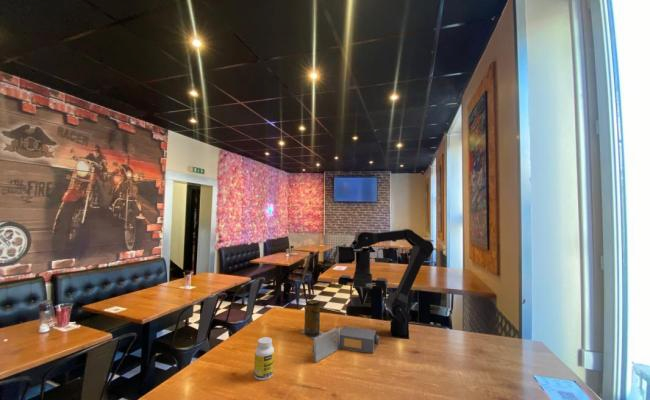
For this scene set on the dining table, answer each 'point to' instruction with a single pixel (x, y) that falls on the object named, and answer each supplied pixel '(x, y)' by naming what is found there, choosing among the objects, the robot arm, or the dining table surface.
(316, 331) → the condiment
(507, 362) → the dining table surface
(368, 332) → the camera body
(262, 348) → the supplement bottle
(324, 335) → the side door
